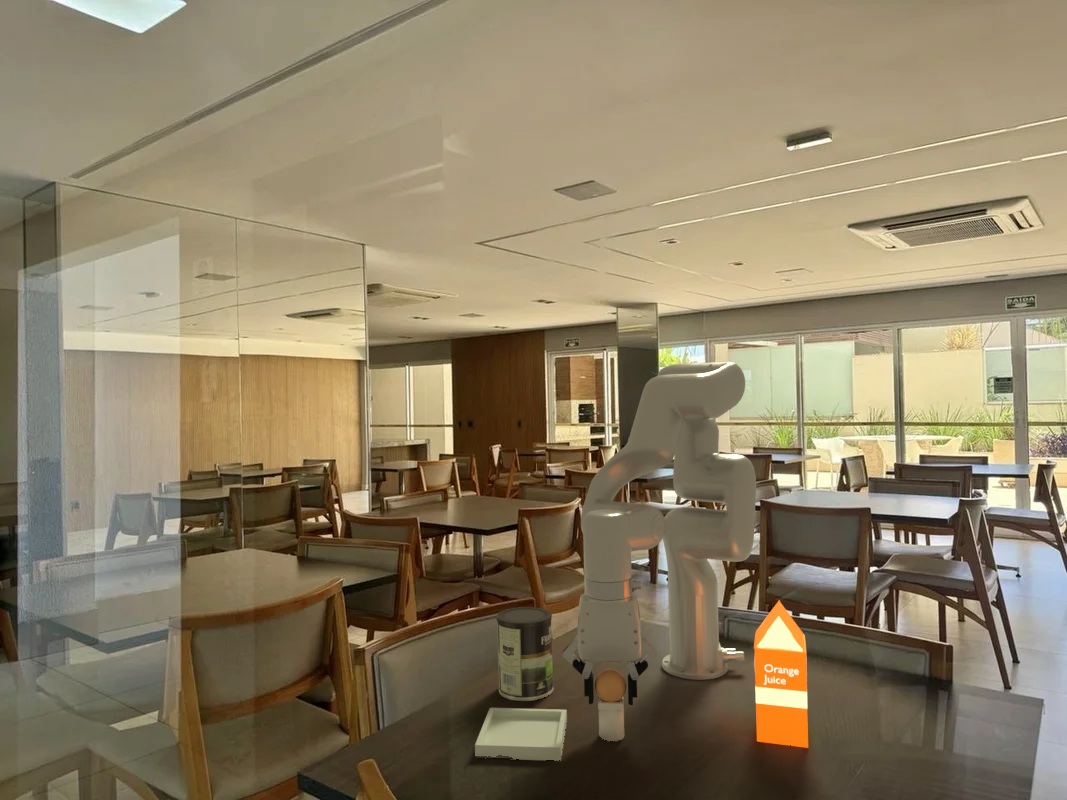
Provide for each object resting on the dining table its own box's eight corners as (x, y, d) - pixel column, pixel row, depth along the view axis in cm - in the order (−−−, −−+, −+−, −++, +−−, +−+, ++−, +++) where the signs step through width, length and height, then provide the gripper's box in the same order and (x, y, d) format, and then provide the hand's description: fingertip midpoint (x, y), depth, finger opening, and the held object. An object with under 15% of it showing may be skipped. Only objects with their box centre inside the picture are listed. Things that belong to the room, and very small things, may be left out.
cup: (624, 730, 118) (623, 693, 118) (624, 741, 114) (623, 703, 114) (599, 729, 118) (598, 692, 118) (598, 741, 114) (597, 703, 114)
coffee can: (557, 680, 139) (556, 607, 138) (548, 703, 129) (546, 624, 128) (505, 677, 141) (503, 605, 141) (491, 700, 131) (489, 622, 130)
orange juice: (807, 722, 119) (804, 600, 118) (809, 748, 110) (806, 617, 110) (757, 717, 121) (754, 597, 121) (755, 741, 113) (752, 613, 113)
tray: (566, 721, 121) (566, 709, 121) (560, 760, 108) (560, 747, 108) (490, 719, 123) (489, 707, 123) (475, 758, 110) (474, 744, 110)
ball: (626, 695, 118) (625, 664, 118) (626, 708, 113) (626, 676, 113) (595, 694, 119) (594, 663, 119) (594, 707, 114) (593, 675, 114)
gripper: (661, 582, 118) (664, 692, 119) (556, 581, 120) (559, 690, 121) (664, 595, 111) (667, 712, 111) (552, 594, 113) (555, 710, 113)
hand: (610, 700), depth 116 cm, fingers open, 5 cm apart
